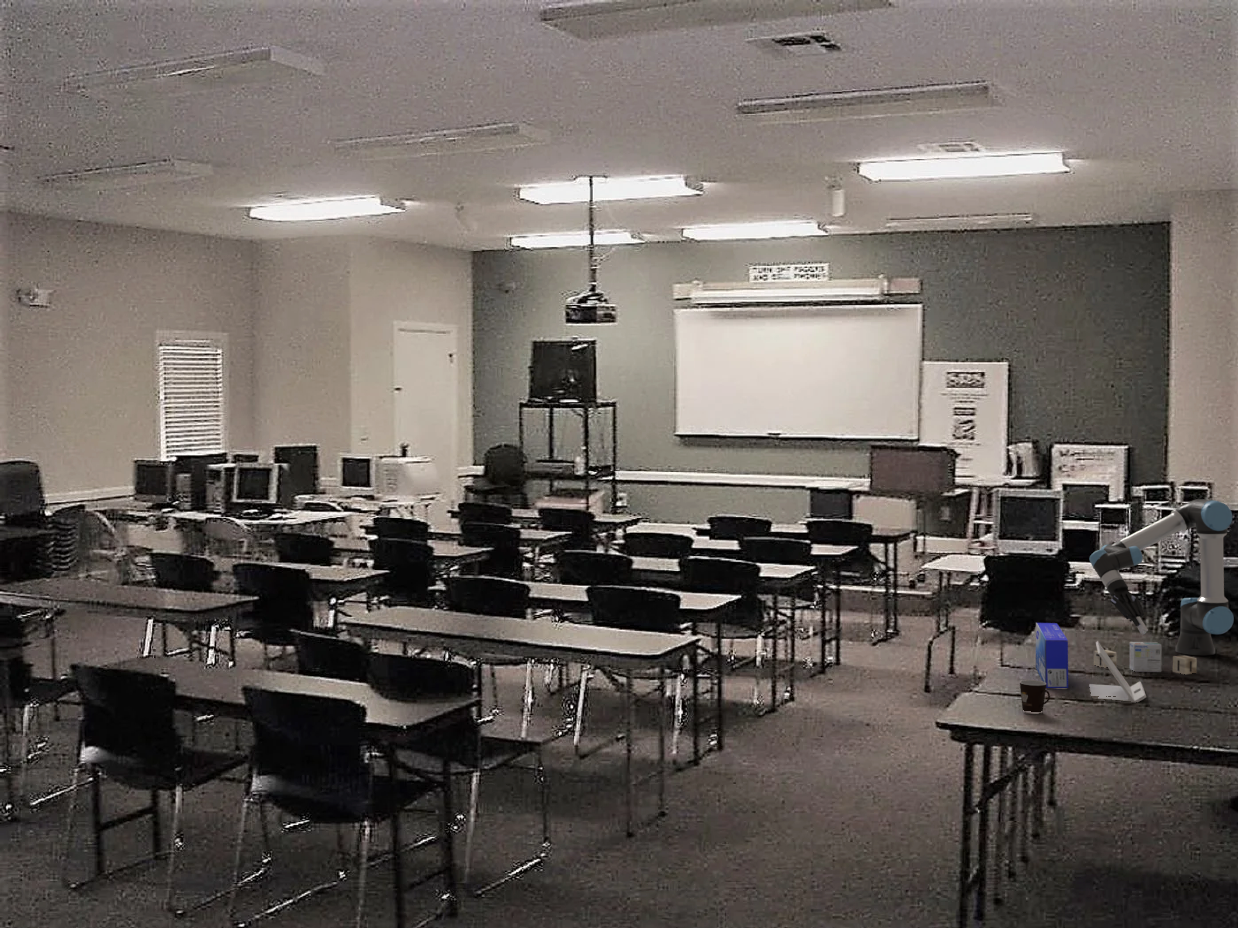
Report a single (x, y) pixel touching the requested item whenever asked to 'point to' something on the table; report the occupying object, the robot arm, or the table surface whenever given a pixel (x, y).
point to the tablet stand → (1122, 691)
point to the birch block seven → (1100, 662)
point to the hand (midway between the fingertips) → (1144, 632)
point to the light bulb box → (1145, 656)
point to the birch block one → (1184, 664)
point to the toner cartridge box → (1052, 655)
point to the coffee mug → (1033, 695)
